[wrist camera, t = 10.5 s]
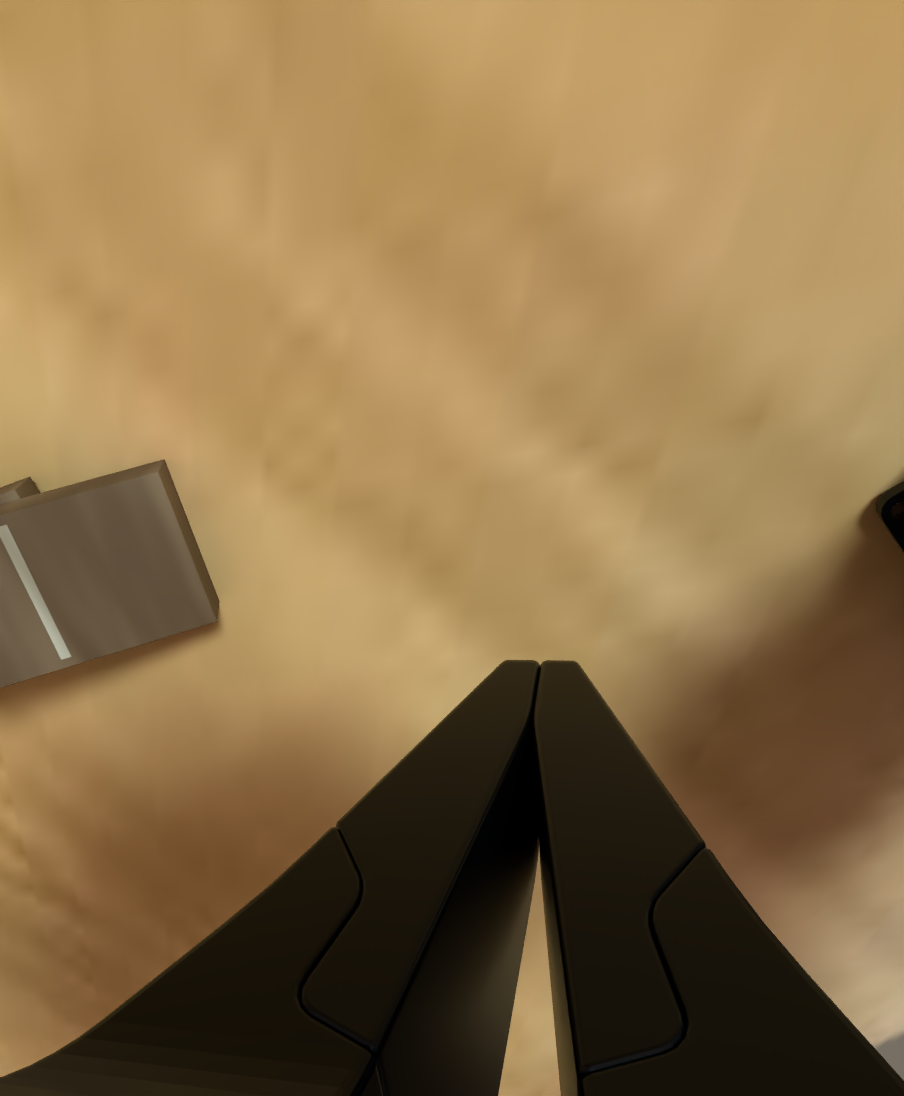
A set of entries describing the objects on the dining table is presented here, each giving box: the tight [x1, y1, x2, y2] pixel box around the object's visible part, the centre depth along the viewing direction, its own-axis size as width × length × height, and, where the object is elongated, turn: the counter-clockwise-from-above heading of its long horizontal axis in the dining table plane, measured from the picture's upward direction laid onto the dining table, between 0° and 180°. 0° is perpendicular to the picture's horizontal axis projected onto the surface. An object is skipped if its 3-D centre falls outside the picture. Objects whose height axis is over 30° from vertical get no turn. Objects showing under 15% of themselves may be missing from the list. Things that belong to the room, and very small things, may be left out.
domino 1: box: [0, 460, 219, 688], centre depth 23 cm, size 2×5×9 cm
